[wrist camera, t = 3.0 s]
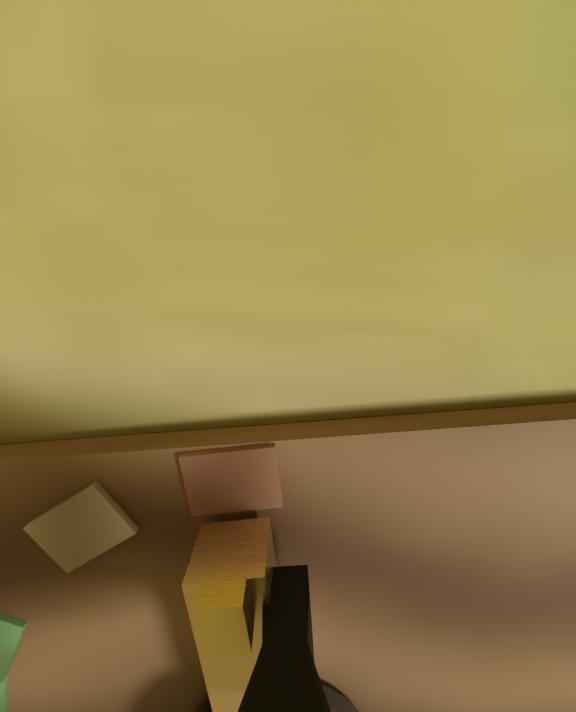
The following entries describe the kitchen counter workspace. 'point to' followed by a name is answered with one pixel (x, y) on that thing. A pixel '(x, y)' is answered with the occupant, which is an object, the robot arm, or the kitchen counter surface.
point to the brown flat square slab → (301, 558)
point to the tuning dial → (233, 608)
